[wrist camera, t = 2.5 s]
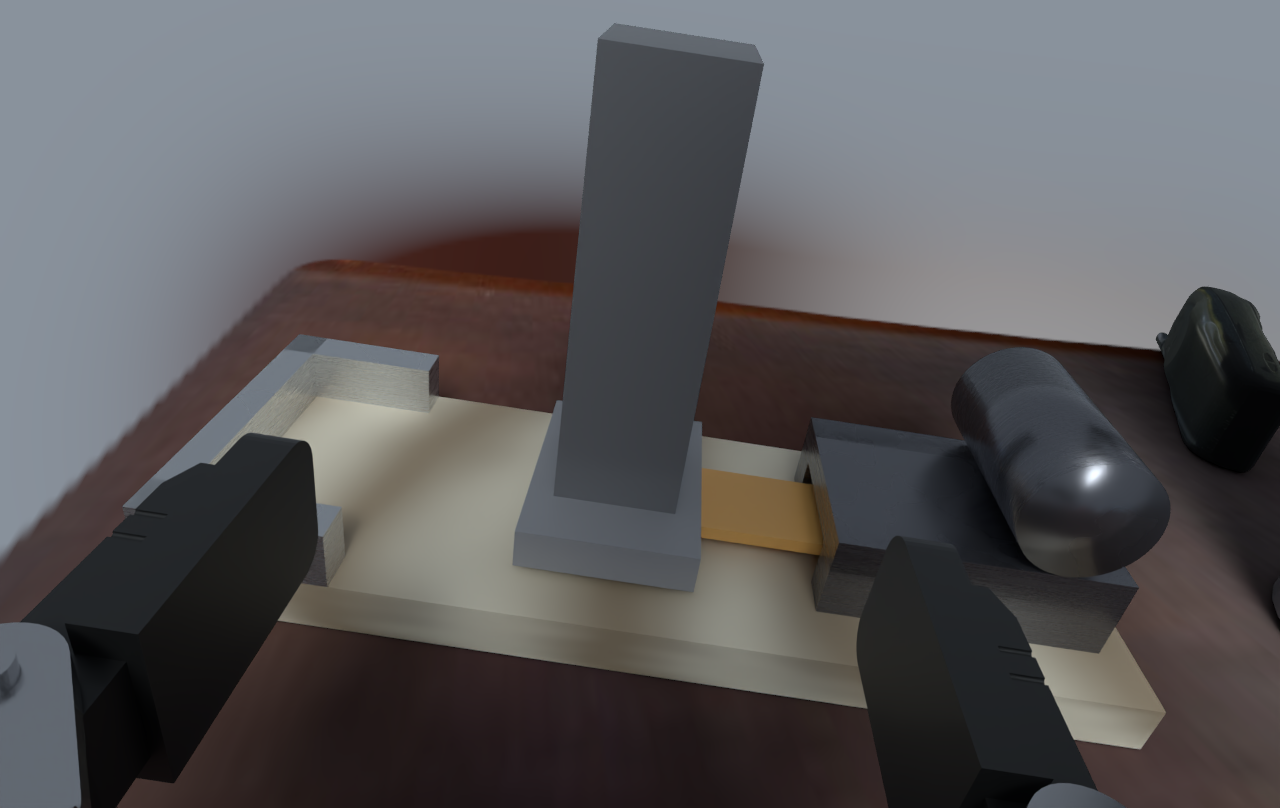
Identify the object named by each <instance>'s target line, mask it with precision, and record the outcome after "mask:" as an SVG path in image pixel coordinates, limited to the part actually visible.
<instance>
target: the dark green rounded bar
mask: <svg viewBox="0 0 1280 808" xmlns="http://www.w3.org/2000/svg"><path fill="white" fill-rule="evenodd" d="M1156 341H1157V343H1158V345H1159V347H1160V349H1161V352H1162V354H1163V357H1164V359H1165V361H1164V371H1165V374H1166V378H1167V380H1168V383H1169V386H1170V390H1171V399H1172V403H1173V407H1174V410H1175V413H1176V417H1177V420H1178V424H1179V428H1180V432H1181V435H1182V439H1183V441H1184V443H1185V444H1186V445H1187V446H1188V448H1189V449H1190V450H1191V451H1192V452H1194V453H1196V454H1197V455H1198V456H1200V457H1202V458H1203V459H1205V460H1207V461H1209V462H1211V463H1214V464H1216V465H1219V466H1222V467H1225V468H1228V469H1232V470H1236V471H1240V472H1247V471H1248V470H1250V469H1251V468H1252V467H1253V466H1254V464H1255V463H1256V461H1257V460H1258V458H1259V457H1260V455H1261V454H1262V452H1263V450H1264V449H1265V447H1266V446H1267V444H1268V443H1269V441H1270V439H1271V438H1272V436H1273V435H1274V433H1275V432H1276V431H1277V429H1278V428H1279V426H1280V363H1279V361H1278V359H1277V357H1276V355H1275V352H1274V350H1273V348H1272V347H1271V345H1270V343H1269V342H1268V340H1267V338H1266V337H1265V335H1264V333H1263V331H1262V326H1261V322H1260V316H1259V313H1258V311H1257V309H1256V308H1255V306H1254V305H1253V304H1252V303H1251V302H1249V301H1247V300H1244V299H1242V298H1240V297H1238V296H1237V295H1235V294H1233V293H1231V292H1228V291H1225V290H1221V289H1217V288H1212V287H1200V288H1198V289H1197V290H1196V291H1194V292H1193V293H1192V294H1191V295H1190V296H1189V298H1188V299H1187V301H1186V303H1185V304H1184V306H1183V308H1182V309H1181V311H1180V313H1179V315H1178V316H1177V318H1176V320H1175V321H1174V323H1173V325H1172V327H1171V330H1170V332H1169V334H1168V335H1167V334H1165V333H1159V334H1158V335H1157V337H1156Z"/></svg>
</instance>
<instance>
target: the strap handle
mask: <svg viewBox="0 0 1280 808" xmlns="http://www.w3.org/2000/svg"><path fill="white" fill-rule="evenodd" d="M763 66H764V63H763V61H762V59H761V57H760V55H759V53H758V50H757V48H756V46H755V45H752V44H745V43H738V42H732V41H726V40H719V39H713V38H706V37H700V36H694V35H687V34H681V33H674V32H668V31H661V30H655V29H648V28H642V27H635V26H629V25H621V24H616V23H614V24H613V25H612V26H611V27H610V28H609V29H608V30H607V31H606V32H605V33H603V34H602V35H601V36H600V37H599V38H598V44H597V55H596V65H595V75H594V86H593V95H592V106H591V116H590V126H589V136H588V147H587V157H586V168H585V178H584V189H583V198H582V208H581V219H580V229H579V239H578V250H577V261H576V270H575V281H574V290H573V301H572V311H571V321H570V331H569V342H568V352H567V362H566V373H565V383H564V393H563V401H559V400H557V402H556V405H555V408H554V411H553V414H552V417H551V420H550V423H549V426H548V430H547V433H546V436H545V439H544V442H543V445H542V448H541V451H540V454H539V457H538V461H537V464H536V467H535V470H534V473H533V476H532V479H531V482H530V485H529V488H528V492H527V495H526V498H525V501H524V504H523V507H522V510H521V513H520V516H519V519H518V523H517V526H516V529H515V534H514V549H513V563H512V565H514V566H521V567H528V568H534V569H541V570H548V571H554V572H561V573H568V574H574V575H581V576H588V577H594V578H601V579H608V580H614V581H621V582H628V583H634V584H641V585H648V586H654V587H661V588H668V589H674V590H681V591H688V592H694V588H695V583H696V579H697V575H698V570H699V566H700V561H701V538H707V539H714V540H721V541H727V542H734V543H740V544H747V545H754V546H760V547H767V548H774V549H780V550H787V551H794V552H800V553H807V554H814V555H820V553H821V549H822V546H823V543H824V540H823V535H822V530H821V525H820V520H819V515H818V510H817V505H816V500H815V494H814V489H813V485H812V484H805V483H799V482H792V481H785V480H779V479H772V478H766V477H759V476H752V475H746V474H739V473H732V472H726V471H719V470H713V469H706V468H702V422H697V421H694V416H695V411H696V406H697V401H698V396H699V391H700V386H701V381H702V376H703V371H704V365H705V360H706V355H707V350H708V345H709V340H710V335H711V330H712V325H713V320H714V315H715V310H716V305H717V299H718V294H719V289H720V284H721V279H722V274H723V269H724V263H725V258H726V254H727V249H728V244H729V239H730V233H731V228H732V223H733V218H734V213H735V208H736V203H737V198H738V193H739V188H740V183H741V178H742V173H743V167H744V162H745V157H746V152H747V147H748V142H749V136H750V132H751V127H752V122H753V117H754V111H755V106H756V101H757V96H758V91H759V86H760V81H761V76H762V71H763Z"/></svg>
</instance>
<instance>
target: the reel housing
mask: <svg viewBox="0 0 1280 808" xmlns="http://www.w3.org/2000/svg"><path fill="white" fill-rule="evenodd" d="M951 409H952V415H953V418H954V420H955V422H956V424H957V426H958V428H959V430H960V432H961V434H962V436H963V438H964V440H965V441H964V440H958V439H951V438H945V437H938V436H931V435H925V434H918V433H912V432H905V431H898V430H892V429H885V428H879V427H872V426H865V425H859V424H852V423H846V422H839V421H832V420H826V419H819V418H813V417H811V420H810V424H809V427H808V431H807V434H806V438H805V442H804V445H803V449H802V452H801V456H800V459H799V463H798V466H797V470H796V473H795V477H794V480H795V482H799V483H805V484H812V485H813V489H814V494H815V500H816V505H817V510H818V515H819V520H820V525H821V530H822V535H823V540H824V543H823V546H822V549H821V553H820V556H819V559H818V562H817V565H816V568H815V571H814V574H813V577H812V580H811V584H812V590H813V596H814V602H815V608H816V611H817V612H824V613H830V614H837V615H844V616H850V617H857V618H860V617H861V614H862V612H863V609H864V606H865V604H866V601H867V599H868V596H869V593H870V591H871V588H872V585H873V583H874V580H875V578H876V575H877V572H878V570H879V567H880V565H881V562H882V559H883V557H884V554H885V551H886V549H887V547H888V544H889V543H890V541H891V540H892V538H893V537H895V536H904V537H910V538H916V539H923V540H929V541H936V542H942V543H948V544H952V545H953V546H955V548H956V549H957V551H958V553H959V555H960V558H961V560H962V562H963V565H964V567H965V569H966V572H967V574H968V577H969V579H970V581H971V584H972V585H975V586H981V587H988V588H989V589H990V590H991V591H992V592H993V593H994V594H995V595H996V596H997V597H998V598H999V600H1000V601H1001V602H1002V603H1003V604H1004V605H1005V606H1006V607H1007V608H1008V609H1009V610H1010V611H1011V612H1012V613H1013V615H1014V616H1015V617H1016V618H1017V619H1018V622H1019V624H1020V626H1021V628H1022V630H1023V632H1024V634H1025V637H1026V639H1027V641H1028V643H1030V644H1037V645H1044V646H1050V647H1057V648H1064V649H1070V650H1077V651H1084V652H1090V653H1097V654H1099V653H1100V651H1101V650H1102V648H1103V646H1104V645H1105V643H1106V641H1107V640H1108V638H1109V636H1110V635H1111V633H1112V631H1113V630H1114V628H1115V627H1116V625H1117V623H1118V622H1119V620H1120V618H1121V617H1122V615H1123V613H1124V612H1125V610H1126V608H1127V607H1128V605H1129V603H1130V602H1131V600H1132V598H1133V597H1134V595H1135V594H1136V592H1137V590H1138V589H1139V587H1138V586H1137V584H1136V583H1135V581H1134V580H1133V578H1132V577H1131V575H1130V574H1129V572H1128V571H1127V569H1126V568H1125V566H1127V565H1129V564H1131V563H1133V562H1134V561H1136V560H1138V559H1139V558H1141V557H1142V556H1143V555H1145V554H1146V553H1147V552H1148V551H1149V550H1150V549H1151V548H1152V547H1153V546H1154V545H1155V544H1156V543H1157V542H1158V541H1159V539H1160V538H1161V536H1162V535H1163V533H1164V531H1165V529H1166V527H1167V525H1168V522H1169V518H1170V501H1169V497H1168V494H1167V492H1166V490H1165V489H1164V487H1163V486H1162V484H1161V483H1160V482H1159V481H1158V479H1157V478H1156V477H1155V476H1154V475H1153V473H1152V472H1151V471H1150V470H1149V469H1148V467H1147V466H1146V465H1145V464H1144V463H1143V462H1142V460H1141V459H1140V458H1139V457H1138V456H1137V454H1136V453H1135V452H1134V451H1133V450H1132V448H1131V447H1130V446H1129V445H1128V444H1127V442H1126V441H1125V440H1124V439H1123V438H1122V436H1121V435H1120V434H1119V433H1118V432H1117V430H1116V429H1115V428H1114V427H1113V426H1112V424H1111V423H1110V422H1109V421H1108V420H1107V418H1106V417H1105V416H1104V415H1103V414H1102V413H1101V411H1100V410H1099V409H1098V408H1097V407H1096V405H1095V404H1094V403H1093V402H1092V401H1091V399H1090V398H1089V397H1088V396H1087V395H1086V393H1085V392H1084V391H1083V390H1082V389H1081V387H1080V386H1079V385H1078V384H1077V383H1076V381H1075V380H1074V379H1073V378H1072V377H1071V375H1070V374H1069V373H1068V372H1067V371H1066V369H1065V368H1064V367H1063V366H1062V365H1061V364H1060V363H1059V362H1058V360H1057V359H1055V358H1054V357H1053V356H1051V355H1049V354H1047V353H1046V352H1043V351H1040V350H1037V349H1033V348H1024V347H1019V348H1009V349H1004V350H1000V351H997V352H994V353H991V354H989V355H987V356H985V357H983V358H982V359H980V360H979V361H977V362H976V363H974V364H973V365H972V366H971V367H970V368H969V369H968V370H967V371H966V372H965V373H964V374H963V375H962V376H961V378H960V379H959V381H958V383H957V384H956V387H955V389H954V392H953V395H952V401H951Z"/></svg>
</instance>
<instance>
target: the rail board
mask: <svg viewBox="0 0 1280 808" xmlns="http://www.w3.org/2000/svg"><path fill="white" fill-rule="evenodd" d="M551 417H552V414H551V413H544V412H538V411H531V410H524V409H518V408H511V407H505V406H498V405H491V404H485V403H478V402H471V401H465V400H458V399H452V398H445V397H438V398H437V400H436V402H435V404H434V405H433V407H432V409H431V410H430V412H429V413H424V412H417V411H411V410H404V409H397V408H391V407H384V406H377V405H371V404H364V403H358V402H351V401H344V400H338V399H331V398H324V397H318V396H316V398H315V399H314V400H313V401H312V402H311V403H310V405H309V406H308V407H307V408H306V409H305V411H304V412H303V413H302V414H301V415H300V416H299V418H298V419H297V420H296V421H295V422H294V423H293V425H292V426H291V427H290V428H289V429H288V430H287V432H286V433H285V434H284V435H283V436H282V437H283V438H290V439H296V440H303V441H306V442H308V444H309V445H310V447H311V450H312V455H313V467H314V480H315V493H316V503H319V504H326V505H332V506H339V507H342V517H343V531H344V545H345V558H344V559H343V561H342V563H341V565H340V566H339V568H338V570H337V571H336V573H335V575H334V577H333V578H332V580H331V582H330V583H329V585H328V587H323V586H316V585H309V584H303V583H301V585H300V586H299V588H298V589H297V591H296V592H295V594H294V596H293V597H292V599H291V600H290V602H289V603H288V605H287V607H286V608H285V610H284V611H283V613H282V614H281V616H280V618H279V619H278V621H284V622H291V623H298V624H304V625H311V626H318V627H324V628H331V629H338V630H344V631H351V632H358V633H364V634H371V635H378V636H385V637H391V638H398V639H405V640H411V641H418V642H425V643H431V644H438V645H445V646H451V647H458V648H465V649H472V650H478V651H485V652H492V653H498V654H505V655H512V656H518V657H525V658H532V659H538V660H545V661H552V662H559V663H565V664H572V665H579V666H585V667H592V668H599V669H605V670H612V671H619V672H625V673H632V674H639V675H646V676H652V677H659V678H666V679H672V680H679V681H686V682H692V683H699V684H706V685H713V686H719V687H726V688H733V689H739V690H746V691H753V692H759V693H766V694H773V695H779V696H786V697H793V698H800V699H806V700H813V701H820V702H826V703H833V704H840V705H846V706H853V707H860V708H866V709H867V704H866V700H865V695H864V691H863V686H862V681H861V677H860V672H859V667H858V662H857V652H856V642H857V632H858V626H859V621H860V618H857V617H850V616H844V615H837V614H830V613H824V612H817V611H816V608H815V602H814V596H813V590H812V584H811V580H812V577H813V574H814V571H815V568H816V565H817V562H818V559H819V556H820V555H814V554H807V553H800V552H794V551H787V550H780V549H774V548H767V547H760V546H754V545H747V544H740V543H734V542H727V541H721V540H714V539H707V538H701V561H700V566H699V570H698V575H697V579H696V583H695V588H694V592H688V591H681V590H674V589H668V588H661V587H654V586H648V585H641V584H634V583H628V582H621V581H614V580H608V579H601V578H594V577H588V576H581V575H574V574H568V573H561V572H554V571H548V570H541V569H534V568H528V567H521V566H514V565H512V563H513V549H514V534H515V529H516V526H517V523H518V519H519V516H520V513H521V510H522V507H523V504H524V501H525V498H526V495H527V492H528V488H529V485H530V482H531V479H532V476H533V473H534V470H535V467H536V464H537V461H538V457H539V454H540V451H541V448H542V445H543V442H544V439H545V436H546V433H547V430H548V426H549V423H550V420H551ZM801 452H802V451H796V450H789V449H782V448H776V447H769V446H762V445H756V444H749V443H743V442H736V441H729V440H723V439H716V438H710V437H703V436H702V468H706V469H713V470H719V471H726V472H732V473H739V474H746V475H752V476H759V477H766V478H772V479H779V480H785V481H792V482H795V480H794V477H795V473H796V470H797V466H798V463H799V459H800V456H801ZM1029 645H1030V647H1031V649H1032V657H1035V658H1036V660H1037V662H1038V664H1039V666H1040V669H1041V671H1042V673H1043V675H1044V677H1045V680H1044V683H1045V685H1048V686H1049V688H1050V690H1051V692H1052V694H1053V696H1054V699H1055V701H1056V703H1057V705H1058V707H1059V709H1060V711H1061V714H1062V716H1063V718H1064V720H1065V722H1066V724H1067V726H1068V728H1069V731H1070V733H1071V735H1072V737H1073V739H1074V740H1081V741H1087V742H1094V743H1101V744H1107V745H1114V746H1121V747H1127V748H1134V749H1141V748H1142V746H1143V745H1144V744H1145V742H1146V741H1147V739H1148V738H1149V736H1150V735H1151V734H1152V732H1153V731H1154V729H1155V728H1156V727H1157V725H1158V724H1159V722H1160V721H1161V719H1162V718H1163V717H1164V715H1165V714H1166V712H1165V710H1164V708H1163V707H1162V705H1161V703H1160V702H1159V700H1158V698H1157V696H1156V695H1155V693H1154V691H1153V690H1152V688H1151V686H1150V685H1149V683H1148V681H1147V680H1146V678H1145V676H1144V675H1143V673H1142V671H1141V670H1140V668H1139V666H1138V665H1137V663H1136V661H1135V660H1134V658H1133V656H1132V654H1131V653H1130V651H1129V649H1128V648H1127V646H1126V644H1125V643H1124V641H1123V639H1122V638H1121V636H1120V634H1119V633H1118V631H1117V629H1116V628H1114V630H1113V631H1112V633H1111V635H1110V636H1109V638H1108V640H1107V641H1106V643H1105V645H1104V646H1103V648H1102V650H1101V651H1100V653H1099V654H1097V653H1090V652H1084V651H1077V650H1070V649H1064V648H1057V647H1050V646H1044V645H1037V644H1030V643H1029Z"/></svg>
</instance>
